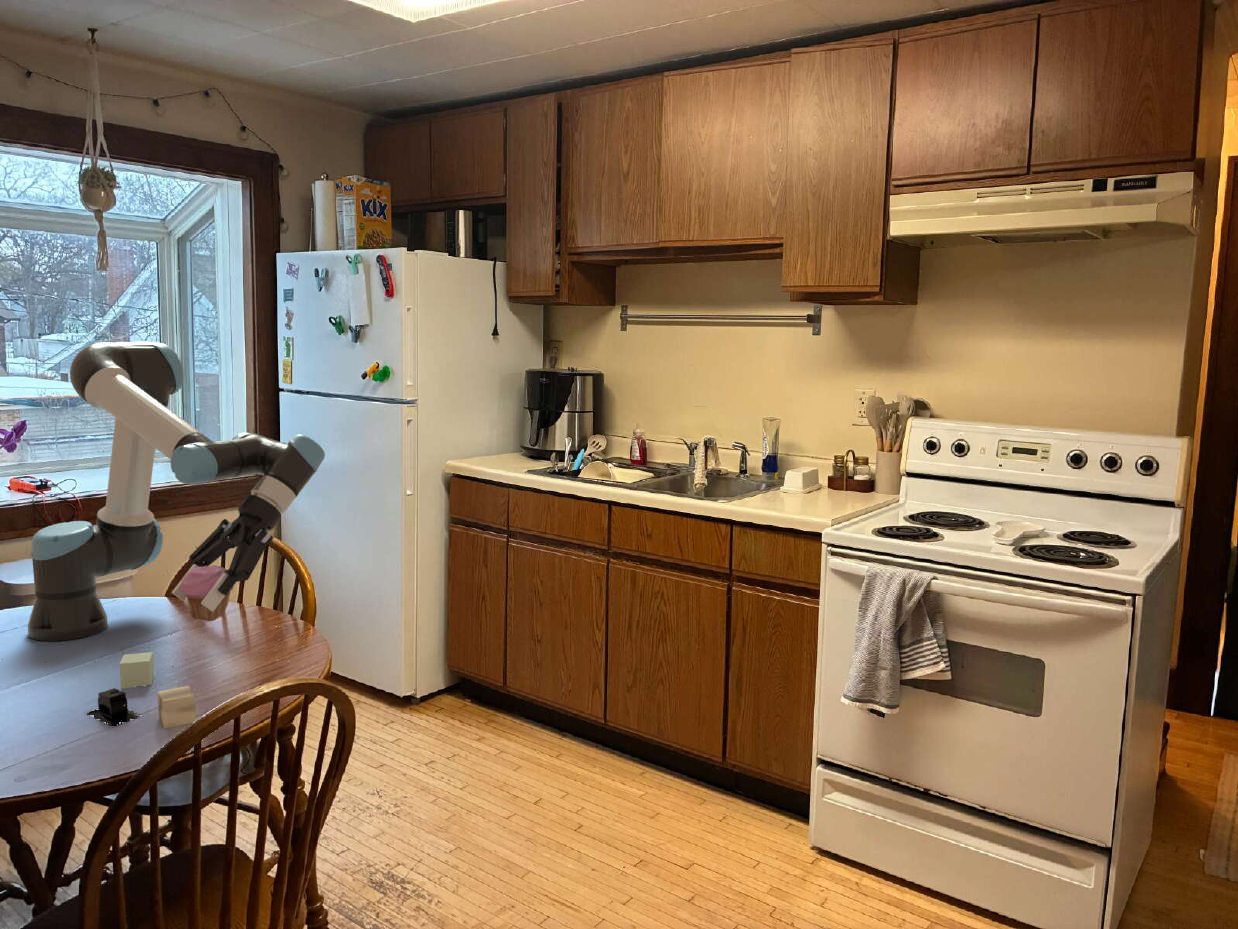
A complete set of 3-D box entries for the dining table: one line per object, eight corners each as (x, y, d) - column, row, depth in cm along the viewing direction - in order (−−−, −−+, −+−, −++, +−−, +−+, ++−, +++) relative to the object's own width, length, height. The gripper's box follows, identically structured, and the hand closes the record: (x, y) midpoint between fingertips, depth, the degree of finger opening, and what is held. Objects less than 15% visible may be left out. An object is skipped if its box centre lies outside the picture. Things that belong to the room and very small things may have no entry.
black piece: (152, 720, 163) (151, 695, 163) (111, 735, 157) (109, 709, 157) (114, 702, 170) (112, 678, 169) (73, 716, 164) (71, 691, 163)
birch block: (159, 718, 163) (157, 691, 162) (190, 712, 166) (188, 685, 165) (164, 729, 159) (162, 701, 158) (195, 722, 162) (194, 695, 161)
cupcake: (172, 621, 172) (170, 569, 170) (206, 608, 180) (204, 557, 178) (212, 628, 169) (210, 574, 167) (244, 614, 177) (243, 563, 175)
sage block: (125, 679, 180) (124, 654, 179) (154, 676, 181) (152, 652, 181) (121, 689, 175) (119, 663, 174) (150, 686, 177) (149, 661, 176)
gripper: (313, 524, 178) (240, 625, 168) (245, 507, 190) (173, 600, 180) (288, 501, 173) (212, 603, 162) (221, 485, 185) (145, 580, 175)
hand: (192, 602), depth 171 cm, fingers closed on cupcake, 9 cm apart
